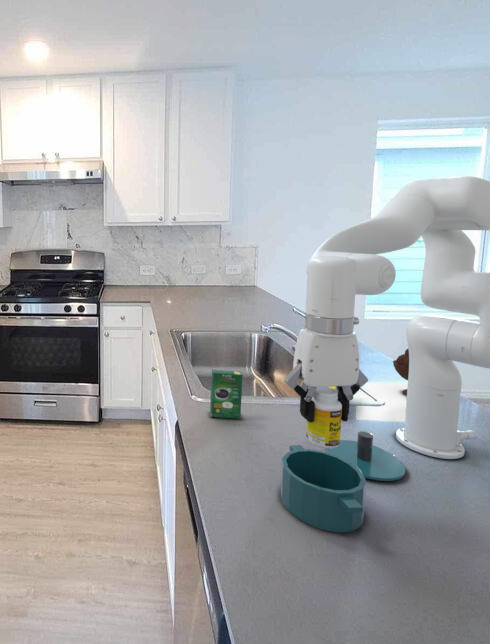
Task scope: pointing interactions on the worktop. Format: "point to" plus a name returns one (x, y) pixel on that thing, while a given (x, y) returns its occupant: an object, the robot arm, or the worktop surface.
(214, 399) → the coffee box
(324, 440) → the supplement bottle
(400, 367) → the ice cream bowl
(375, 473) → the lid
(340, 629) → the worktop surface
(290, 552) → the worktop surface
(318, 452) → the pot
